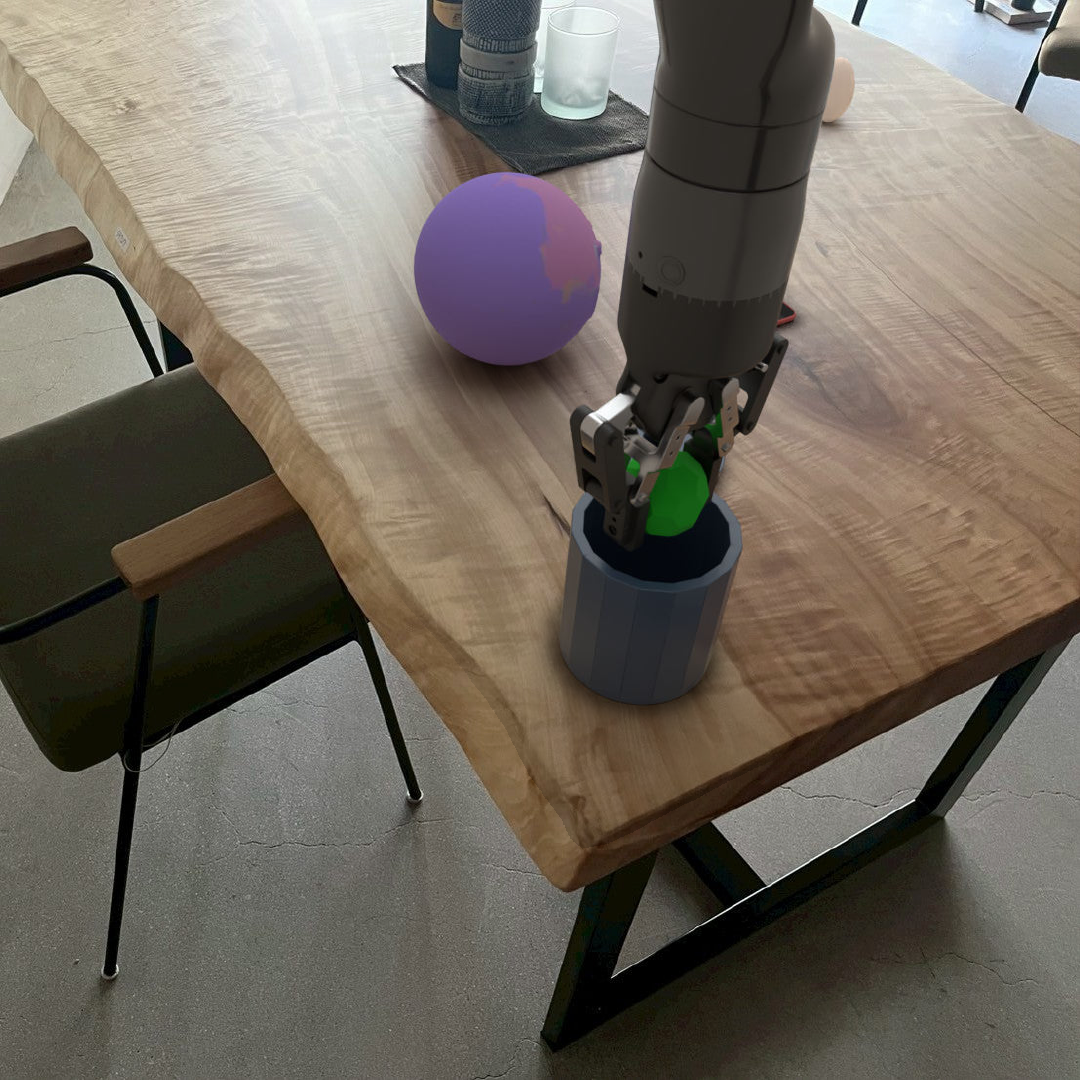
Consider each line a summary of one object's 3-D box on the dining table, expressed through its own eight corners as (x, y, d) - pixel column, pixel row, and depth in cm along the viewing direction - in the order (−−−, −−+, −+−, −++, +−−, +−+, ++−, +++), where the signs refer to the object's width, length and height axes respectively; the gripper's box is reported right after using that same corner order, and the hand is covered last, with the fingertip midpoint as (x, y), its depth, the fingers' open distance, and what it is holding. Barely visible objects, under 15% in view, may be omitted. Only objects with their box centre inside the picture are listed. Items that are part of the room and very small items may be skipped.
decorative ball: (615, 390, 86) (637, 224, 76) (435, 413, 83) (431, 242, 72) (565, 292, 96) (578, 133, 86) (402, 308, 93) (395, 145, 82)
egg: (837, 133, 124) (854, 69, 119) (800, 122, 125) (815, 58, 120) (850, 119, 127) (867, 57, 121) (814, 109, 128) (830, 46, 123)
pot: (741, 652, 68) (776, 538, 60) (634, 732, 63) (657, 619, 55) (635, 564, 73) (655, 449, 65) (527, 632, 68) (536, 517, 60)
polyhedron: (605, 497, 61) (613, 433, 58) (685, 489, 62) (698, 426, 58) (626, 558, 58) (637, 494, 54) (711, 549, 58) (727, 486, 55)
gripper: (749, 176, 53) (695, 436, 65) (536, 263, 46) (519, 537, 58) (871, 237, 49) (789, 502, 61) (658, 343, 42) (613, 618, 54)
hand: (658, 518), depth 59 cm, fingers closed on polyhedron, 5 cm apart
